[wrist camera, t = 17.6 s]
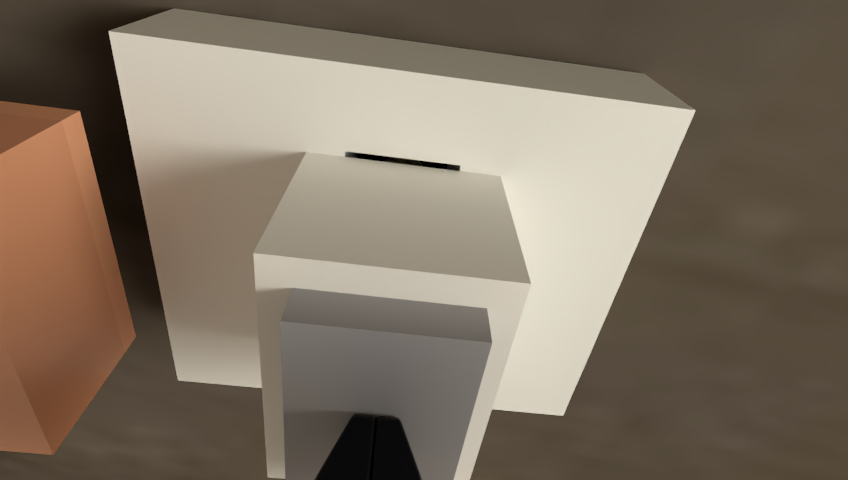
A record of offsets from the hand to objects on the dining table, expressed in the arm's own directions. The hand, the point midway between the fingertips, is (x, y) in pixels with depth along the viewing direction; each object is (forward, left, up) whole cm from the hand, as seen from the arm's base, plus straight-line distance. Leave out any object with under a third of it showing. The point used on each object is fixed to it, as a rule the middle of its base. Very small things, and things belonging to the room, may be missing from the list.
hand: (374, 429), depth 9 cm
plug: (0, 0, -7) cm, 7 cm away
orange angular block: (0, +10, -4) cm, 11 cm away
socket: (0, 0, -8) cm, 8 cm away
